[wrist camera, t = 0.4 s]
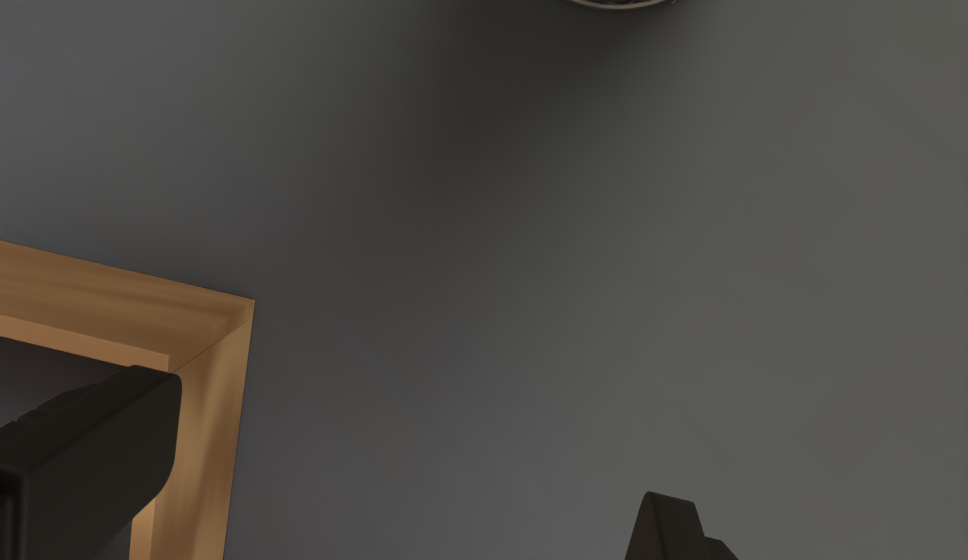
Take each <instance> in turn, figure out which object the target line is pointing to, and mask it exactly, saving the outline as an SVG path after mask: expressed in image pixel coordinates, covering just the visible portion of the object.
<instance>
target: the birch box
mask: <svg viewBox="0 0 968 560" xmlns="http://www.w3.org/2000/svg"><path fill="white" fill-rule="evenodd" d="M254 306H255V300H253V299H249V298H245V297H241V296H236V295H232V294H228V293H223V292H219V291H215V290H210V289H206V288H202V287H198V286H193V285H189V284H185V283H180V282H176V281H172V280H168V279H163V278H159V277H155V276H150V275H146V274H142V273H138V272H133V271H129V270H125V269H120V268H116V267H112V266H108V265H103V264H99V263H95V262H90V261H86V260H82V259H77V258H73V257H69V256H65V255H60V254H56V253H52V252H47V251H43V250H39V249H35V248H30V247H26V246H22V245H17V244H13V243H9V242H5V241H0V336H2V337H6V338H10V339H15V340H19V341H23V342H27V343H31V344H35V345H39V346H44V347H48V348H52V349H56V350H60V351H64V352H68V353H72V354H77V355H81V356H85V357H89V358H93V359H97V360H101V361H106V362H110V363H114V364H118V365H122V366H126V367H129V366H131V365H140V366H144V367H148V368H152V369H156V370H160V371H164V372H168V373H173V374H177V375H178V376H179V377H180V378H181V381H182V398H181V407H180V416H179V426H178V435H177V444H176V453H175V460H174V465H173V468H172V471H171V474H170V476H169V478H168V481H167V482H166V484H165V486H164V487H163V489H162V490H161V492H160V493H159V494H158V495H157V496H156V497H155V498H154V499H153V500H152V501H151V502H150V503H149V504H148V505H147V506H146V507H144V508H143V509H142V510H141V511H140V512H139V513H138V514H137V515H136V516H135V517H134V518H133V519H132V528H131V540H130V551H129V560H223V553H224V545H225V537H226V529H227V521H228V513H229V505H230V497H231V489H232V481H233V473H234V465H235V457H236V449H237V441H238V433H239V425H240V417H241V409H242V401H243V393H244V385H245V377H246V369H247V361H248V353H249V345H250V337H251V329H252V321H253V318H252V317H253V314H254Z"/></svg>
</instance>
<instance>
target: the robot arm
mask: <svg viewBox="0 0 968 560" xmlns="http://www.w3.org/2000/svg"><path fill="white" fill-rule="evenodd" d="M565 1H567V2H569V3H572V4H575V5H578V6H581V7H585V8H588V9H593V10H600V11H613V12H620V11H632V10H638V9H644V8H647V7H651V6H655V5H658V4H660V3H663V2H666V1H668V0H565ZM675 1H676V0H675ZM675 1H674V2H675ZM181 398H182V381H181V378H180V377H179V376H178V375H177V374H173V373H168V372H164V371H160V370H156V369H152V368H148V367H144V366H140V365H131V366H129V367H128V368H126V369H124V370H123V371H121V372H119V373H117V374H116V375H114V376H112V377H111V378H109V379H107V380H106V381H104V382H102V383H101V384H99V385H96V384H93V385H90V386H86V387H82V388H79V389H75V390H72V391H68V392H64V393H61V394H60V395H58V396H56V397H54V398H53V399H51V400H49V401H47V402H46V403H44V404H42V405H40V406H39V407H38V409H37V410H31V411H30V412H28V413H26V414H24V415H23V416H21V417H19V418H18V420H17V422H14V421H12V422H10V423H9V424H7V425H5V426H3V427H2V428H0V560H90V559H91V558H92V557H93V556H94V555H95V554H96V553H97V552H98V551H99V550H100V549H101V548H102V547H103V546H104V545H105V544H106V543H108V542H109V541H110V540H111V539H112V538H113V537H114V536H115V535H116V534H117V533H118V532H119V531H120V530H121V529H122V528H123V527H124V526H125V525H127V524H128V523H129V522H130V521H131V520H132V519H133V518H134V517H135V516H136V515H137V514H138V513H139V512H140V511H141V510H142V509H143V508H144V507H146V506H147V505H148V504H149V503H150V502H151V501H152V500H153V499H154V498H155V497H156V496H157V495H158V494H159V493H160V492H161V490H162V489H163V487H164V486H165V484H166V482H167V481H168V478H169V476H170V474H171V471H172V468H173V465H174V460H175V453H176V444H177V435H178V426H179V416H180V407H181ZM625 560H738V559H737V557H736V556H735V555H734V554H733V553H732V552H731V551H730V550H729V548H728V547H727V546H726V545H725V544H724V543H723V542H722V541H721V540H717V539H713V538H709V537H705V536H704V533H703V530H702V526H701V523H700V520H699V517H698V513H697V510H696V507H695V504H694V503H693V502H691V501H686V500H682V499H678V498H674V497H670V496H666V495H662V494H658V493H654V492H650V491H648V492H647V493H646V494H645V496H644V498H643V500H642V503H641V506H640V509H639V512H638V516H637V519H636V523H635V526H634V529H633V533H632V536H631V540H630V543H629V546H628V550H627V553H626V557H625Z"/></svg>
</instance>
